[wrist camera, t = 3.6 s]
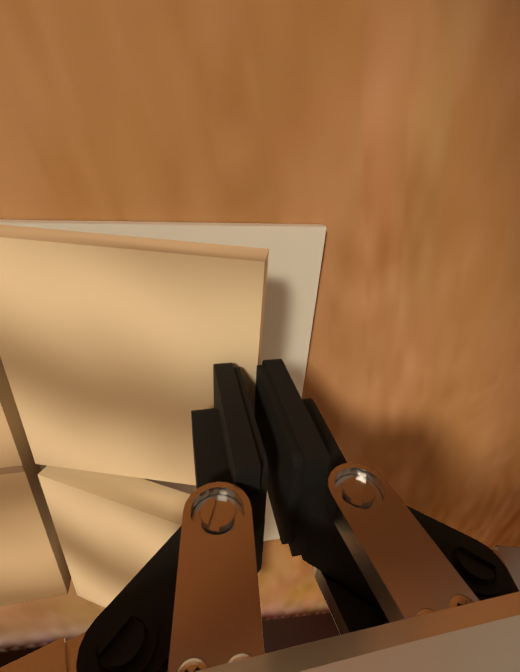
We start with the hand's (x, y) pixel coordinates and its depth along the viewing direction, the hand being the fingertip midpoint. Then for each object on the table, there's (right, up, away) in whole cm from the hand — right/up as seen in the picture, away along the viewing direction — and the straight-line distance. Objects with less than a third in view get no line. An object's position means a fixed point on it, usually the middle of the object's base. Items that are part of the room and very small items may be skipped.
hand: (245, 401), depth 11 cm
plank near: (-4, +1, +1) cm, 4 cm away
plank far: (-4, -7, +5) cm, 10 cm away
